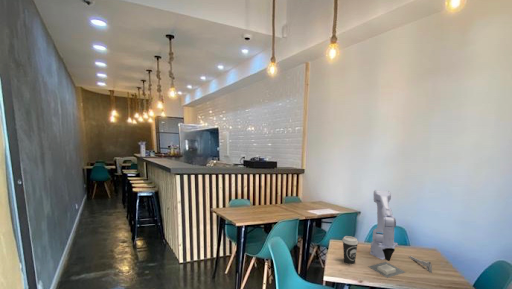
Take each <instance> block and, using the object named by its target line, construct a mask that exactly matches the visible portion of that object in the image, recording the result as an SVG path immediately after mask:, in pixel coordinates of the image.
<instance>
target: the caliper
mask: <svg viewBox="0 0 512 289" xmlns="http://www.w3.org/2000/svg"><path fill="white" fill-rule="evenodd" d="M408 258H410V259H411V260H413V261H415V262H417V263H419V264H421V265H422V266H423V267H425V268H426V271H428V272H429V273H430V274H432V273H433V267H432V263H431V262H430V261H425V260H421V259H418V258H416V257H414V256H412V255H409V256H408Z"/></svg>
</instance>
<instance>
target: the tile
mask: <svg viewBox="0 0 512 289" xmlns="http://www.w3.org/2000/svg"><path fill="white" fill-rule="evenodd" d="M377 270H378V271H380V272H382V273H384V274H385V275H388V274H392V273H395V272H396V269H395V268H393V267H391V266H389V265H387V264H385V265H381V266H378V267H377Z"/></svg>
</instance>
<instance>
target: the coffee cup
mask: <svg viewBox="0 0 512 289" xmlns="http://www.w3.org/2000/svg"><path fill="white" fill-rule="evenodd" d="M341 241H342V247H343V262H344V263H345V264H347V265H355V264H356V257H357V250H358V245H359V241H358V239H357V237H354V236H349V235H345V236H344V237H343V238H342V240H341Z"/></svg>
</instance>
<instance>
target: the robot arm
mask: <svg viewBox="0 0 512 289" xmlns="http://www.w3.org/2000/svg"><path fill="white" fill-rule="evenodd" d="M391 199H392V193H391V192H390V190H388V191H387V190H377V189H374V191H373V202H374V203H375V204H376V208H377V212H376V215H377V218H376V219H377V221H376V224H377V226H376V228H373V231H372V241H371V243H370V252H369V254H370V255H372V256H373V257H376V258H378V259H380V260H383V261H384V260H385V261H386V262H390V261H391V258H392V256H393V253H394V252H395V249H396V247H399V246H398V245H399V244H398V242H395V228H396V227H397V221H396V220H397V219H396V217H395V216H394V215H393V211H392V208H391V207H390V205H389V204H390V203H389V202H390V201H391Z"/></svg>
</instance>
